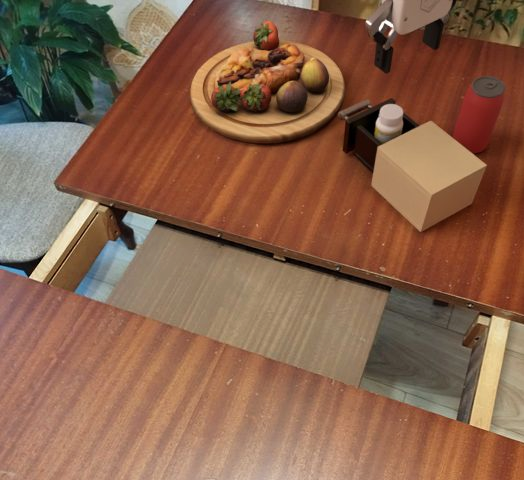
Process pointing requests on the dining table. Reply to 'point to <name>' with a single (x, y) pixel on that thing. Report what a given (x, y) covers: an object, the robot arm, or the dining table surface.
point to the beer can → (479, 113)
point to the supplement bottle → (389, 123)
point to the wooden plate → (267, 89)
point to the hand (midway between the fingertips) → (406, 57)
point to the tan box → (426, 175)
